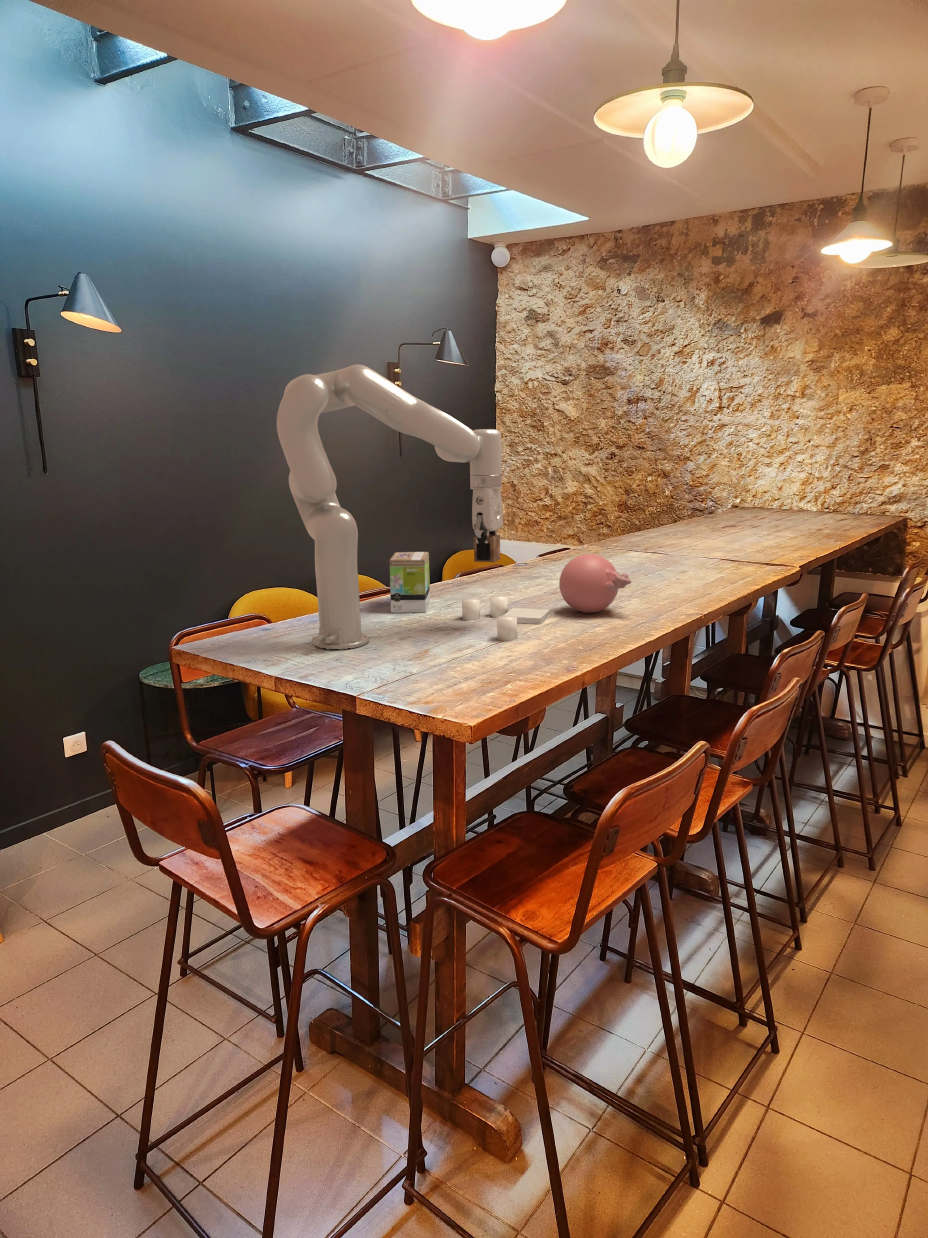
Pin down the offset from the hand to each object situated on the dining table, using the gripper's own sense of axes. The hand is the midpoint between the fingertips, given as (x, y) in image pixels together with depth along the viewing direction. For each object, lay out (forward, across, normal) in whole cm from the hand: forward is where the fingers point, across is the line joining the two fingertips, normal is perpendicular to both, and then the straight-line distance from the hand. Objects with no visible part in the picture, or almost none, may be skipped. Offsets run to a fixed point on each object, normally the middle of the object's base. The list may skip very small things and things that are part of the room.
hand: (487, 557), depth 192 cm
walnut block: (+1, 0, 0) cm, 1 cm away
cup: (+17, -10, -8) cm, 22 cm away
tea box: (+18, +16, +28) cm, 37 cm away
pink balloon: (+17, +20, -23) cm, 35 cm away
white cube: (+17, +7, +7) cm, 20 cm away
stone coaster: (+17, +10, -7) cm, 21 cm away
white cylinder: (+17, +12, +1) cm, 21 cm away
